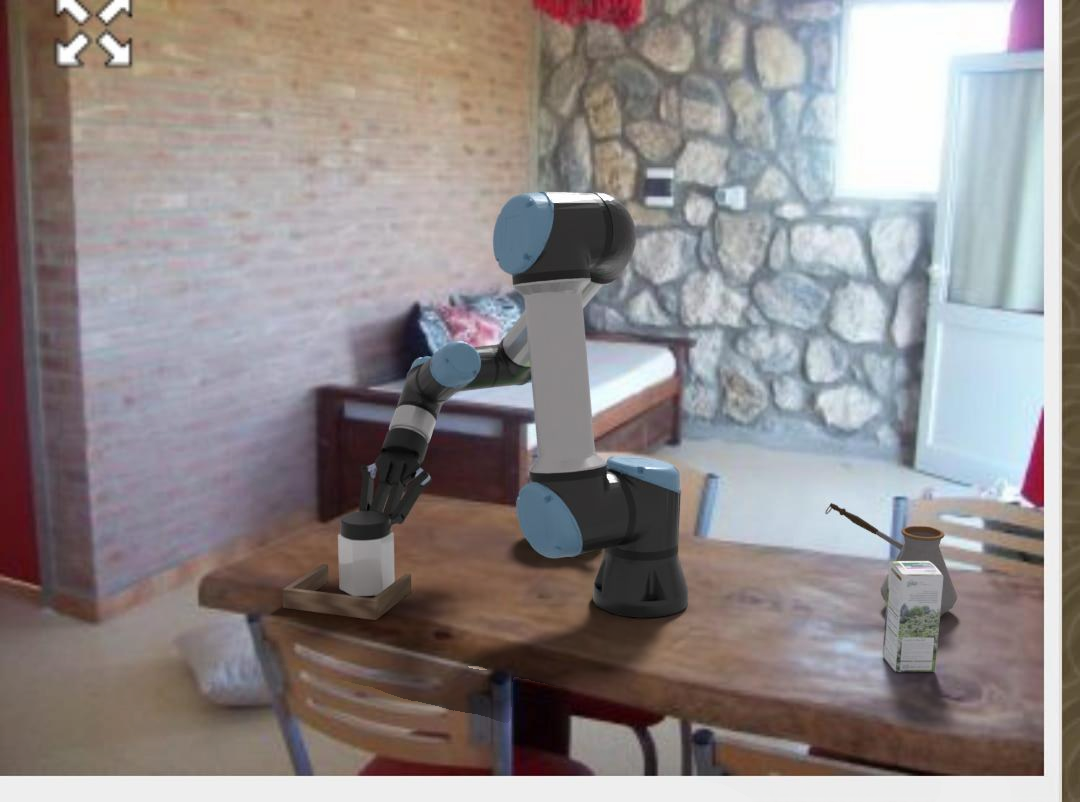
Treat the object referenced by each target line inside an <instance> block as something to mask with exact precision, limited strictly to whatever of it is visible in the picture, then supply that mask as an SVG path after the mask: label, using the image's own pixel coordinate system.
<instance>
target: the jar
mask: <svg viewBox="0 0 1080 802" xmlns="http://www.w3.org/2000/svg"><path fill="white" fill-rule="evenodd" d="M339 520H340V521H339V522H340V523H339V525H340V533H339V534H337V547H338V548H337V549H338V550H337V551H338V554H337V556H338V581H339V582H338V583H339V584H338V587H339V590H340V591H343V592H344V593H346V594H347V595H349V596H357V597H373V596H374V597H375V596H377V595H378V594H379V593H381V592H382V591H383V590H385V589H386V588H387V587H389V586H390V585H391V584H393V583H394V582H395V581H396V579H395V537H394V535H395V534H394V532H393V531H392V526H391V517H390V516H389V515H388V514H386V513H383V512H377V511H359V510H358V511H354V512H349V513H347V514H343V515H342V516H341V517H340V519H339Z"/></svg>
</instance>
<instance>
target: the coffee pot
mask: <svg viewBox="0 0 1080 802" xmlns="http://www.w3.org/2000/svg"><path fill="white" fill-rule="evenodd" d="M832 510H834V511H837V512H838V513H839V515H840V516H844V517H846V518H847V519H848V520H849V521H850V522H852V523H853V524H855V525H857V526H858V527H860V528H862V529H864V530H865V531H868V532H870V533H872V534H874V535H876V536H878V537H879V538H881V539H883V540H884V541H886V542H888V544H891V545H892V546H894V547H895V548H896V549H898V550H900V551H899V553H898V555H897V557H896V558H895V560H894V561H929V562H931V563H932V564H933V565H934V566H936V568H937V569H938V570H939V571H940V572H941V574H942V575H943V588H942V599H941V610H940V618H941V617H942V616H944V614H945V613H947V612H948V611H950V610H951V609H953V607H954V605H955V604H956V602H957V601H958V596H957V592H956V589H955V586H954V583H953V581H952V579H951V576H950V573H949V570H948V567H947V565H946V562H945V559H944V556H943V554H942V551H941V547H940V545H941V541H942V539H944V537H945V533H944V531H942V530H941V529H938V528H935V527H932V526H926V525H924V526H923V525H911V526H904V527H902V528H901V530H900V533H901V534H902V535H903V538H904V543H902V542H900V541H898V540H896V539H895V538H893V537H891V536H889V535H887V534H885V533H884V532H882V531H880V530H879V529H878V528H876V526H875V527H874V525H872V524H870V523H869V522H868V521H866V520H864V519H863V518H861V517H860V516H858V515H856V514H853V513H851V512H848V511H847V510H846V508H845V507H843V508H841V507H840V506H838V505H837V504H835V503H831V502H830V504H829V506H828V507H827V509H825V512H824V513H825V515H828V514H829V513H830V512H831V511H832ZM887 587H888V574H887V575H886V577H885V579H884V581H883V583H882V585H881V586H880V594H881V597H882V599H883V600H884V601H885V603H886V600H887Z"/></svg>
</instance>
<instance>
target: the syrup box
mask: <svg viewBox="0 0 1080 802" xmlns="http://www.w3.org/2000/svg"><path fill="white" fill-rule="evenodd" d="M887 575H888V587H887V600H886V602H885V614H884V615H885V618H884V631H883V642H882V643H883V645H882V658H883V659H884V660H885V661H886V663H887V664H888V665H889V666H890V667H891V668H892V670H893V671H894V673H935V672H936V667H937V652H938V643H939V632H940V631H939V629H940V619H941V617H940V610H941V599H942V588H943V575H942V574H941V572H940V571H939V570H938V569H937V568H936V566H934V565H933V564H932V563H931V562H929V561H895V560H893V561H892V560H891V561H889V562H888V573H887Z"/></svg>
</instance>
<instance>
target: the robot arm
mask: <svg viewBox="0 0 1080 802" xmlns="http://www.w3.org/2000/svg"><path fill="white" fill-rule="evenodd" d="M636 239H637V233H636V227H635V223H634V219H633V217H632V215H631V213H630V212H629V210H628V209H627V207H626V206H625V205H624V204H623V203H622V202H621V201H619V200H618V199H617V198H615V197H613V196H612V195H609V194H607V193H603V192H599V191H586V192H577V191H576V192H574V191H573V192H571V191H536V192H528V193H527V192H526V193H519V194H517V195H515V196H512V198H510V199H508V200H507V202H506V203H504V205H503V207H502V208H501V209H500V213H499V214H498V215H497V218H496V221H495V225H494V229H493V235H492V247H493V254H494V255H493V256H494V257H495V258H494V259H495V261H496V262H498V267H499V268H500V270H502V271H503V272H505V273H507V274H508V275H510V276H511V278H512V288H514V290H515V291H517V293H519V294H520V295H522V297H523V299H524V307H525V308H524V311H523V312H522V314H521V315H519V317H518V319H517V320H516V321H515V322H514V323H513V325H512V327H511V328H510V329H509V330H508V331H507V333H506V334H505V336H504V337H503V338H502V339H501V341H500V342H499V343H498V344H490V345H481V346H479V345H478V346H473V345H471V344H470V343H468V342H465V341H463V340H452V341H450V342H448V343H446V344H445V345H444V346H441V348H438V350H436V351H435V352H434V354H433V355H431V356H428V355H427V356H423V357H418V358H416V359H414V361H413V362H412V364H411V367H410V369H409V370H408V372H407V374H406V378H405V382H404V385H403V387H402V391H401V393H400V396H399V399H398V402H397V405H396V409H395V411H394V414H393V416H392V418H391V421H390V423H389V427H388V431H387V433H386V434H385V438H384V441H383V443H382V447H381V451H380V452H381V453H380V455H379V456H378V457H377V458H376V459H375V462H374V463H372V464H370V465H366V464H361V466H360V467H359V468H360V469H359V470H360V472H361V475H362V480H361V490H360V496H359V497H360V498H359V500H360V501H359V508H358V512H359V511H377V512H383V513H386V514H388V515H389V516H390V517H391V527H392V526H393V525H396V524H398V525H402V524H403V523H404V522H405V521H406V519H407V517H408V515H409V514H410V512H411V510H412V508H413V507H414V505H415V504H416V502H417V501H418V499H419V497H420V495H421V494H422V492H423V490H424V489H425V488H427V486H428V485H429V484H430V483H432V481H433V480H432V478H431V476H430V474H429V471H428V470H426V469H425V470H424V469H423V462H424V460H425V456H426V454H427V451H428V449H429V448H428V447H429V443H430V441H431V438H432V435H433V432H434V429H435V427H436V423H437V420H438V416H439V415H440V411H441V409H442V407H443V404H444V403H445V402H447V401H448V400H450V399H451V398H452V397H453V396H454V395H456V394H457V393H459V392H465V391H467V392H468V391H476V390H485V389H490V388H491V389H492V388H500V387H501V388H502V387H511V386H512V387H513V386H524V385H527V384H531V388H532V389H531V390H532V401H533V410H534V411H533V413H534V422H535V423H534V424H535V436H536V445H537V446H536V448H537V458H536V460H535V461H534V462H533V464H531V466H530V467H529V469H528V471H529V483H528V482H527V483H526V484H525V485H524V486H522V487H521V489H520V490H519V492H518V496H517V498H516V504H515V505H516V515H517V519H518V523H519V526H520V529H521V532H522V534H523V536H524V538H525V540H526V541H527V542H528V543H529V545H530V546H531V547H532V548H533V550H534V551H535V552H537V553H538V554H540V555H541V556H543V557H545V558H548V559H560V558H565V557H567V558H568V557H570V558H573V557H577V556H580V555H582V554H586V553H590V552H595V551H601V550H604V554H603V557H602V560H601V563H600V566H599V569H598V572H597V574H596V578H595V579H594V583H593V587H592V601H593V604H594V605H595V606H597V607H598V608H599V609H601V610H603V611H605V612H608V613H611V614H614V615H619V616H623V617H628V618H629V617H632V618H659V617H661V618H662V617H667V616H670V615H674V614H678V613H680V612H681V611H683V610H684V609H686V608H687V607H688V605H689V588H688V587H689V586H688V585H687V580H686V577H685V573H684V571H683V567H682V565H681V561H680V557H679V545H680V543H679V539H680V538H679V537H680V513H681V512H680V511H681V495H682V490H681V474H680V471H679V469H678V468H677V466H675V465H674V464H672V463H670V462H667V461H663V460H659V459H654V458H651V457H650V458H649V457H644V456H635V455H633V456H632V455H614V456H610V457H607V458H608V459H607V460H605V459H603V458H602V457H601V456H600V455H598V454H597V452H596V449H595V447H596V446H595V437H594V426H593V413H592V399H591V389H590V388H591V387H590V386H591V385H590V379H589V377H590V376H589V365H588V355H587V354H588V353H587V342H586V341H587V340H586V330H585V329H586V328H585V316H584V308H585V307H586V306H587V305H588V304H589V302H590V301H591V300H592V299H593V297H594V296H595V295H596V294H597V292H598V291H599V290H601V288H602V287H603V286H607V285H610V284H612V283H614V282H615V281H616V279H618V277H619V276H620V275H621V274H622V273H623V271H624V270H625V269H626V267H627V266H628V265H629V262H630V261H631V259H632V257H633V254H634V251H635V247H636V242H637V241H636ZM377 473H378V474H379V477H378V483H377V484H378V485H377V487H376V490H375V493H374V484H375V481H374V479H375V478H376V476H377ZM409 483H410V484H409ZM408 484H409V486H408Z"/></svg>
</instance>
